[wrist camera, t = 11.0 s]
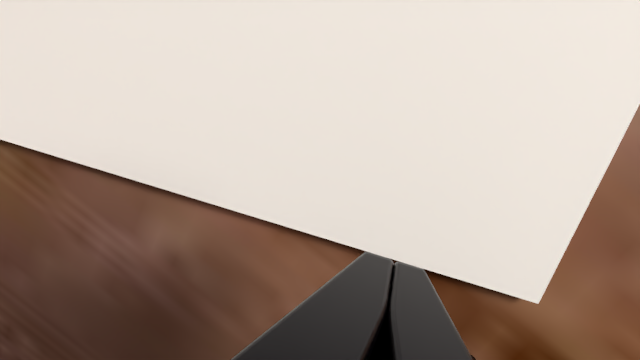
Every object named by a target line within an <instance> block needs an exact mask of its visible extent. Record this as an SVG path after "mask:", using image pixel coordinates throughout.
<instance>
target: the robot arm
mask: <svg viewBox="0 0 640 360" xmlns="http://www.w3.org/2000/svg"><path fill="white" fill-rule="evenodd" d="M231 360H476V359H475V358H474V357H473V356H472V355H470V353H469V351H468V350H467V348H466V346H465V344H464V342H463V340H462V338H461V337H460V335H459V333H458V331H457V329H456V327H455V325H454V324H453V322H452V320H451V318H450V316H449V314H448V313H447V311H446V309H445V307H444V305H443V303H442V301H441V300H440V298H439V296H438V294H437V292H436V290H435V288H434V287H433V285H432V283H431V281H430V279H429V277H428V275H427V274H426V272H425V271H424V270H423V269H422V268H419V267H416V266H413V265H409V264H406V263H403V262H396V263H394V265H393V261H392V260H391V259H390V258H386V257H383V256H380V255H377V254H373V253H370V252H365V253H363V254H362V255H361V256H359V257H358V258H357V259H356V260H354V261H353V262H352V263H351V264H349V265H348V266H347V267H346V268H344V269H343V270H342V271H341V272H339V273H338V274H337V275H336V276H334V277H333V278H332V279H331V280H329V281H328V282H327V283H326V284H324V285H323V286H322V287H321V288H319V289H318V290H317V291H316V292H314V293H313V294H312V295H311V296H309V297H308V298H307V299H306V300H304V301H303V302H302V303H301V304H299V305H298V306H297V307H296V308H294V309H293V310H292V311H291V312H289V313H288V314H287V315H286V316H284V317H283V318H282V319H281V320H279V321H278V322H277V323H276V324H274V325H273V326H272V327H271V328H269V329H268V330H267V331H266V332H264V333H263V334H262V335H261V336H259V337H258V338H257V339H256V340H254V341H253V342H252V343H251V344H249V345H248V346H247V347H246V348H244V349H243V350H242V351H241V352H239V353H238V354H237V355H236V356H234V357H233V358H232V359H231Z"/></svg>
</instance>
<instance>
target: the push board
mask: <svg viewBox="0 0 640 360" xmlns="http://www.w3.org/2000/svg"><path fill="white" fill-rule="evenodd" d="M639 104H640V0H0V140H4V141H7V142H10V143H13V144H17V145H20V146H23V147H27V148H30V149H33V150H36V151H40V152H43V153H46V154H49V155H53V156H56V157H59V158H63V159H66V160H69V161H72V162H76V163H79V164H82V165H85V166H89V167H92V168H95V169H99V170H102V171H105V172H108V173H112V174H115V175H118V176H121V177H125V178H128V179H131V180H135V181H138V182H141V183H144V184H148V185H151V186H154V187H157V188H161V189H164V190H167V191H171V192H174V193H177V194H180V195H184V196H187V197H190V198H193V199H197V200H200V201H203V202H207V203H210V204H213V205H216V206H220V207H223V208H226V209H229V210H233V211H236V212H239V213H243V214H246V215H249V216H252V217H256V218H259V219H262V220H265V221H269V222H272V223H275V224H279V225H282V226H285V227H288V228H292V229H295V230H298V231H301V232H305V233H308V234H311V235H315V236H318V237H321V238H324V239H328V240H331V241H334V242H337V243H341V244H344V245H347V246H350V247H354V248H357V249H360V250H364V251H367V252H370V253H373V254H377V255H380V256H383V257H386V258H390V259H393V260H396V261H400V262H403V263H406V264H409V265H413V266H416V267H419V268H422V269H426V270H429V271H432V272H436V273H439V274H442V275H445V276H449V277H452V278H455V279H458V280H462V281H465V282H468V283H472V284H475V285H478V286H481V287H485V288H488V289H491V290H494V291H498V292H501V293H504V294H508V295H511V296H514V297H517V298H521V299H524V300H527V301H530V302H534V303H537V304H538V303H539V301H540V300H541V298H542V296H543V294H544V292H545V290H546V288H547V286H548V284H549V282H550V280H551V278H552V276H553V274H554V272H555V270H556V268H557V266H558V264H559V262H560V260H561V258H562V256H563V254H564V252H565V250H566V248H567V246H568V244H569V242H570V240H571V238H572V236H573V234H574V232H575V231H576V229H577V227H578V225H579V223H580V221H581V219H582V217H583V215H584V213H585V211H586V209H587V207H588V205H589V203H590V201H591V199H592V197H593V195H594V193H595V191H596V189H597V187H598V185H599V183H600V181H601V179H602V177H603V175H604V173H605V171H606V169H607V167H608V165H609V163H610V162H611V160H612V158H613V156H614V154H615V152H616V150H617V148H618V146H619V144H620V142H621V140H622V138H623V136H624V134H625V132H626V130H627V128H628V126H629V124H630V122H631V120H632V118H633V116H634V114H635V112H636V110H637V108H638V106H639Z"/></svg>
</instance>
